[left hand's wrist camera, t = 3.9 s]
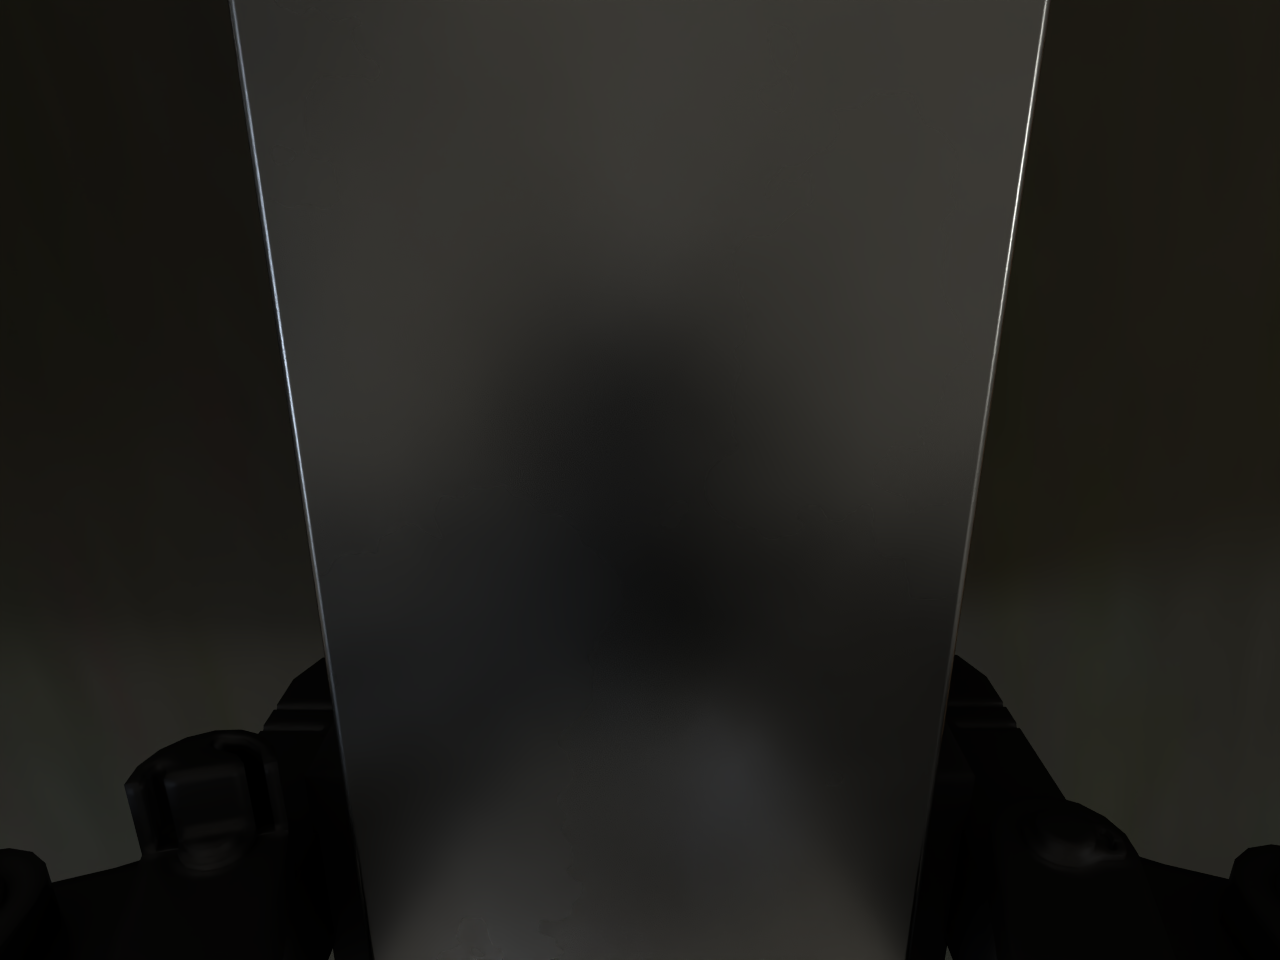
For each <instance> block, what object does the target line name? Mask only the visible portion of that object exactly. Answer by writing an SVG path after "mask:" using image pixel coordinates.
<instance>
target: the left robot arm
mask: <svg viewBox="0 0 1280 960" xmlns="http://www.w3.org/2000/svg"><path fill="white" fill-rule="evenodd" d="M124 786H125V790H126V794H127V798H128V802H129V806H130V810H131V813H132V817H133V821H134V825H135V829H136V833H137V837H138V841H139V844H140V848H141V852H142V857H141V860H139V861H136V862H133V863H130V864H126V865H123V866H120V867H117V868H113V869H108V870H104V871H100V872H95V873H91V874H87V875H83V876H78V877H74V878H70V879H65V880H61V881H57V882H53V883H51V879H50V876H49V873H48V870H47V867H46V863H45V862H44V861H42V860H41V859H40V858H39V857H38V856H37V855H35V854H34V853H33V852H30V851H24V850H18V849H11V848H7V849H0V960H328V959H329V956H330V954H331V951H332V949H333V952H334V958H335V960H370V959H369V952H368V945H367V939H366V932H365V925H364V918H363V912H362V905H361V898H360V891H359V885H358V878H357V871H356V864H355V858H354V851H353V844H352V837H351V830H350V824H349V817H348V810H347V803H346V797H345V790H344V783H343V776H342V770H341V763H340V756H339V749H338V743H337V736H336V729H335V722H334V716H333V709H332V702H331V695H330V689H329V682H328V675H327V668H326V662H325V658H322V659H320V660H319V661H318V662H316V663H315V664H314V665H312V666H311V667H310V668H308V669H307V670H306V671H304V672H303V673H302V674H300V675H299V676H297V677H296V678H295V679H293V681H292V683H291V684H290V686H289V687H288V689H287V690H286V692H285V693H284V695H283V696H282V698H281V700H280V701H279V703H278V704H277V710H273V712H272V714H271V715H270V717H269V718H268V720H267V721H266V723H265V724H264V729H263V731H260V732H259V734H256V733H252V732H249V731H245V730H215V731H211V732H207V733H203V734H199V735H195V736H191V737H187V738H185V739H182V740H180V741H178V742H176V743H174V744H171V745H169V746H167V747H165V748H163V749H160V750H159V751H157V752H156V753H155V754H153V755H152V756H151V757H149V758H148V759H147V760H145V761H144V762H143V763H141V764H140V765H139V766H137V768H136V769H135V771H134V772H133V773H132V775H131V776H130V777H129V779H128V780H127V782H126V783H125V784H124ZM947 946H948V948H949V951H950V954H951V956H952V959H953V960H1280V846H1279V845H1272V844H1271V845H1265V846H1259V847H1252V848H1248V849H1247V850H1245V851H1244V852H1243V853H1242V854H1241V855H1240V856H1238V857H1237V858H1236V859H1235V861H1234V864H1233V867H1232V871H1231V874H1230V877H1229V879H1226V878H1221V877H1217V876H1213V875H1208V874H1204V873H1200V872H1195V871H1191V870H1187V869H1182V868H1178V867H1174V866H1170V865H1165V864H1162V863H1159V862H1155V861H1152V860H1149V859H1145V858H1142V857H1140V856H1139V855H1138V853H1137V852H1136V850H1135V848H1134V847H1133V845H1132V844H1131V842H1130V841H1129V839H1128V837H1127V836H1126V834H1125V833H1123V832H1122V831H1121V830H1120V829H1119V828H1117V827H1116V826H1115V825H1114V824H1113V823H1112V822H1110V821H1109V820H1108V819H1107V818H1106V817H1104V816H1102V815H1100V814H1099V813H1097V812H1095V811H1093V810H1091V809H1089V808H1087V807H1085V806H1083V805H1081V804H1079V803H1076V802H1072V801H1068V800H1066V799H1065V797H1064V796H1063V794H1062V793H1061V791H1060V790H1059V788H1058V786H1057V785H1056V783H1055V782H1054V780H1053V779H1052V777H1051V776H1050V774H1049V773H1048V771H1047V769H1046V768H1045V766H1044V765H1043V763H1042V762H1041V760H1040V759H1039V757H1038V756H1037V754H1036V752H1035V751H1034V749H1033V748H1032V746H1031V745H1030V743H1029V742H1028V740H1027V739H1026V737H1025V736H1024V734H1023V732H1022V731H1021V729H1020V728H1017V727H1016V722H1015V720H1014V719H1013V717H1012V715H1011V714H1010V712H1009V711H1008V709H1007V708H1006V707H1003V702H1002V700H1001V698H1000V697H999V695H998V694H997V692H996V691H995V689H994V688H993V686H992V685H991V683H990V681H989V680H988V678H987V677H986V676H985V675H983V674H982V673H981V672H979V671H978V670H977V669H975V668H974V667H973V666H971V665H970V664H969V663H967V662H966V661H964V660H963V659H962V658H960V657H959V656H958V655H954V661H953V668H952V675H951V682H950V688H949V695H948V702H947V709H946V716H945V722H944V729H943V736H942V743H941V749H940V756H939V763H938V770H937V777H936V783H935V790H934V797H933V804H932V810H931V817H930V824H929V831H928V838H927V844H926V851H925V858H924V865H923V871H922V878H921V885H920V892H919V898H918V905H917V912H916V919H915V926H914V932H913V939H912V946H911V953H910V959H909V960H945V954H946V948H947Z"/></svg>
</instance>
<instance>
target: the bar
mask: <svg viewBox="0 0 1280 960" xmlns="http://www.w3.org/2000/svg"><path fill="white" fill-rule="evenodd" d="M1050 4H1051V0H228V6H229V13H230V19H231V26H232V33H233V40H234V46H235V53H236V60H237V67H238V73H239V80H240V87H241V94H242V101H243V107H244V114H245V121H246V128H247V134H248V141H249V148H250V155H251V161H252V168H253V175H254V182H255V188H256V195H257V202H258V209H259V215H260V222H261V229H262V236H263V242H264V249H265V256H266V263H267V269H268V276H269V283H270V290H271V297H272V303H273V310H274V317H275V324H276V330H277V337H278V344H279V351H280V357H281V364H282V371H283V378H284V384H285V391H286V398H287V405H288V411H289V418H290V425H291V432H292V438H293V445H294V452H295V459H296V466H297V472H298V479H299V486H300V493H301V499H302V506H303V513H304V520H305V526H306V533H307V540H308V547H309V553H310V560H311V567H312V574H313V580H314V587H315V594H316V601H317V607H318V614H319V621H320V628H321V634H322V641H323V648H324V655H325V662H326V668H327V675H328V682H329V689H330V695H331V702H332V709H333V716H334V722H335V729H336V736H337V743H338V749H339V756H340V763H341V770H342V776H343V783H344V790H345V797H346V803H347V810H348V817H349V824H350V830H351V837H352V844H353V851H354V858H355V864H356V871H357V878H358V885H359V891H360V898H361V905H362V912H363V918H364V925H365V932H366V939H367V945H368V952H369V959H370V960H909V959H910V953H911V946H912V939H913V932H914V926H915V919H916V912H917V905H918V898H919V892H920V885H921V878H922V871H923V865H924V858H925V851H926V844H927V838H928V831H929V824H930V817H931V810H932V804H933V797H934V790H935V783H936V777H937V770H938V763H939V756H940V749H941V743H942V736H943V729H944V722H945V716H946V709H947V702H948V695H949V688H950V682H951V675H952V668H953V661H954V655H955V648H956V641H957V634H958V628H959V621H960V614H961V607H962V600H963V594H964V587H965V580H966V573H967V567H968V560H969V553H970V546H971V539H972V533H973V526H974V519H975V512H976V506H977V499H978V492H979V485H980V479H981V472H982V465H983V458H984V451H985V445H986V438H987V431H988V424H989V418H990V411H991V404H992V397H993V390H994V384H995V377H996V370H997V363H998V357H999V350H1000V343H1001V336H1002V329H1003V323H1004V316H1005V309H1006V302H1007V296H1008V289H1009V282H1010V275H1011V269H1012V262H1013V255H1014V248H1015V241H1016V235H1017V228H1018V221H1019V214H1020V208H1021V201H1022V194H1023V187H1024V180H1025V174H1026V167H1027V160H1028V153H1029V147H1030V140H1031V133H1032V126H1033V120H1034V113H1035V106H1036V99H1037V92H1038V86H1039V79H1040V72H1041V65H1042V59H1043V52H1044V45H1045V38H1046V31H1047V25H1048V18H1049V11H1050Z"/></svg>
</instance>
